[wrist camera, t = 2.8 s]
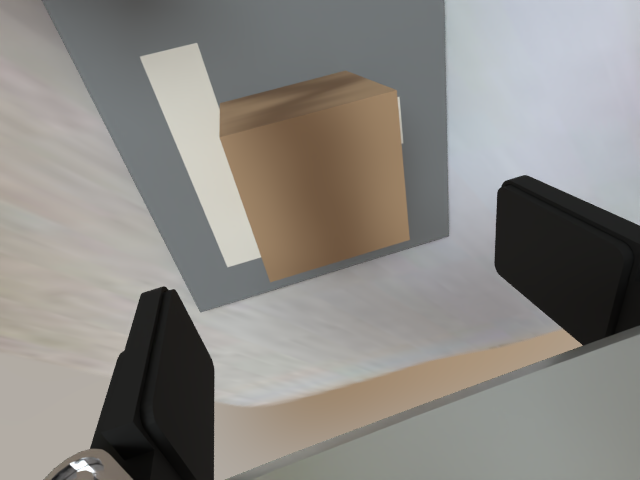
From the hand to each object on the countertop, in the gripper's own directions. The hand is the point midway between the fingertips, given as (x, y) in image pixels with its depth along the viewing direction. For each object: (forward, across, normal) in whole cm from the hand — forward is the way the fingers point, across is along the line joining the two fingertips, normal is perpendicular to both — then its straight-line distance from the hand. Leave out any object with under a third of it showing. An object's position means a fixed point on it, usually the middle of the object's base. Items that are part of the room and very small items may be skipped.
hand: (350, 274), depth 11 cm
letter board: (+11, -1, -1) cm, 11 cm away
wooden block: (+10, -1, -1) cm, 10 cm away
